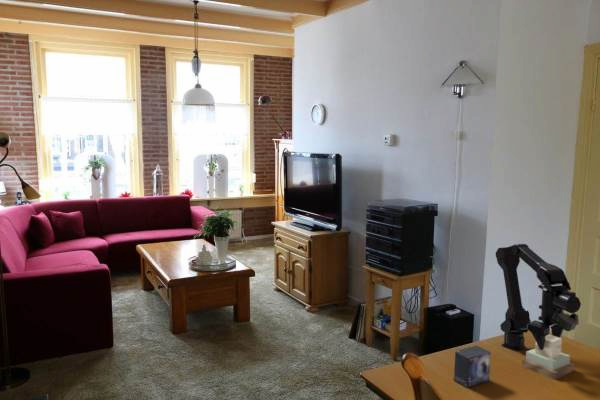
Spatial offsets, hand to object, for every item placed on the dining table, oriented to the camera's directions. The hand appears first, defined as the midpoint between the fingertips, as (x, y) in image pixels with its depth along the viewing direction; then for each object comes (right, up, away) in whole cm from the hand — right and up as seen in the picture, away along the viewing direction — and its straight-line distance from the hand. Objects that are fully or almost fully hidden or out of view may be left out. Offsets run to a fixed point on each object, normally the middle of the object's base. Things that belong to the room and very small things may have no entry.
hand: (548, 346), depth 169 cm
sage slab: (0, -6, +1) cm, 6 cm away
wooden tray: (0, -9, +1) cm, 9 cm away
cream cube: (0, -3, 0) cm, 3 cm away
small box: (-30, -9, -8) cm, 32 cm away
